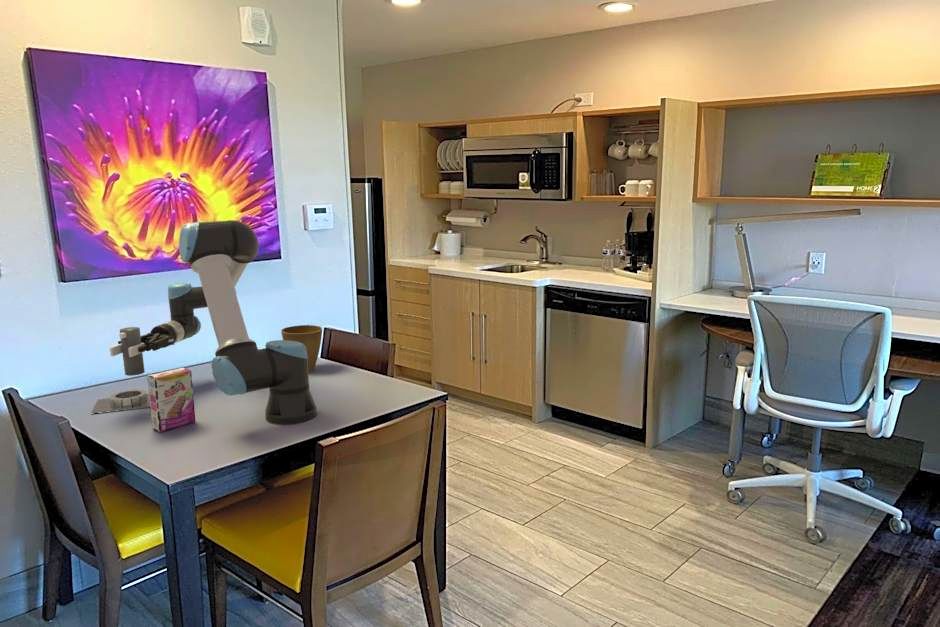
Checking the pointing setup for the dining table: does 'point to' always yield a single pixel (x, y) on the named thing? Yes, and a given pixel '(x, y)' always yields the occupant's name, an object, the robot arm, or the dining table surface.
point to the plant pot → (305, 340)
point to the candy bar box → (171, 399)
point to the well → (123, 401)
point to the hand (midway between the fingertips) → (120, 352)
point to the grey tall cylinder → (128, 340)
